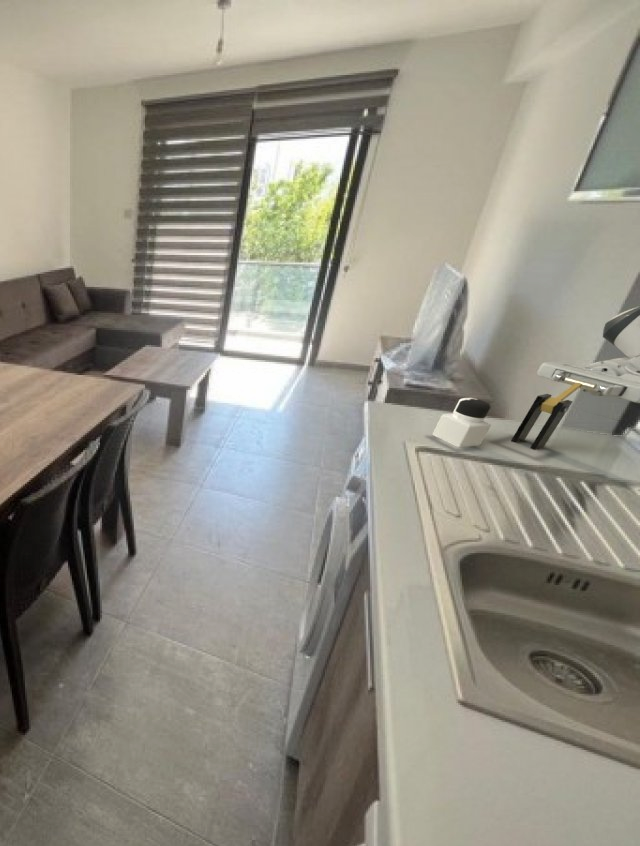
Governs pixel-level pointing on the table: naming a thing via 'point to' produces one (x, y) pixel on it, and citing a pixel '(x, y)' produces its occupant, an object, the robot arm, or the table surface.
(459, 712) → the table surface
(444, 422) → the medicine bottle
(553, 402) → the switch lever
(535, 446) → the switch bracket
